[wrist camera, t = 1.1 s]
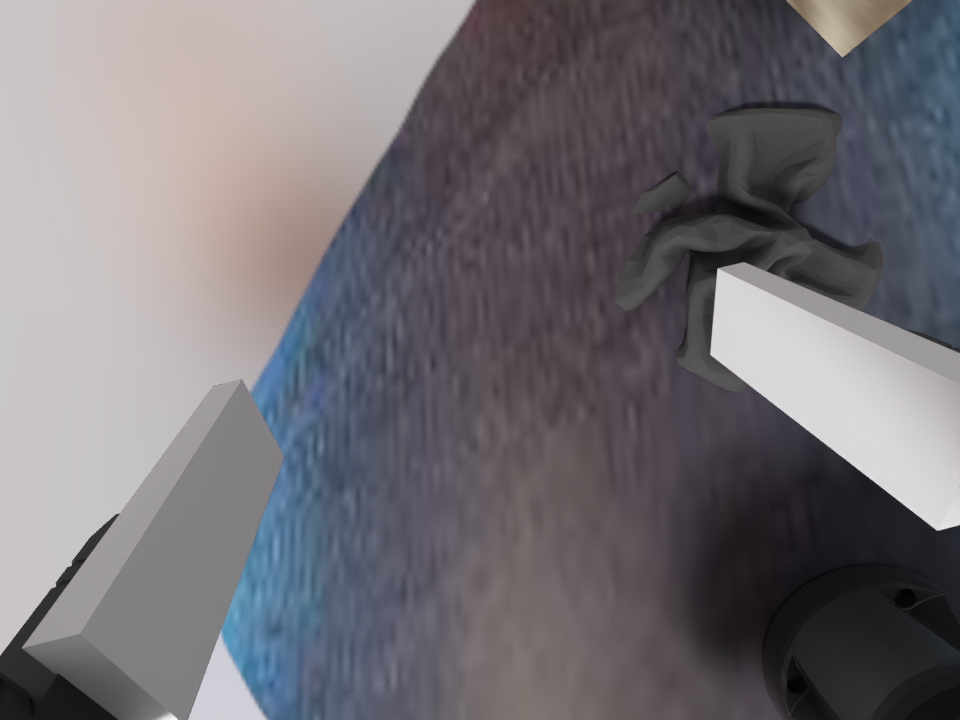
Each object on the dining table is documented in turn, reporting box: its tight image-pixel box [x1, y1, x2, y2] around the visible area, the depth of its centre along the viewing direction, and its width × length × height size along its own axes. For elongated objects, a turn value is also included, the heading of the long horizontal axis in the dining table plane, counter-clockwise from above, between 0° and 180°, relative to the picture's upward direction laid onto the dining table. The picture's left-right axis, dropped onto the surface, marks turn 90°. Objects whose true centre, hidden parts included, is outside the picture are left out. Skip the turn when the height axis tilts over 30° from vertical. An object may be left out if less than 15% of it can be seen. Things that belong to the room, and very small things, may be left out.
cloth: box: [614, 108, 883, 391], centre depth 29 cm, size 22×19×6 cm
